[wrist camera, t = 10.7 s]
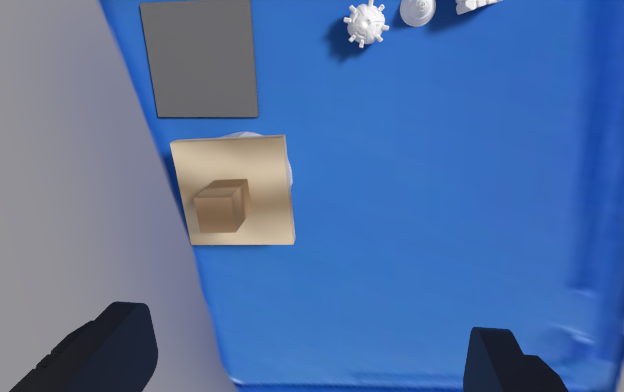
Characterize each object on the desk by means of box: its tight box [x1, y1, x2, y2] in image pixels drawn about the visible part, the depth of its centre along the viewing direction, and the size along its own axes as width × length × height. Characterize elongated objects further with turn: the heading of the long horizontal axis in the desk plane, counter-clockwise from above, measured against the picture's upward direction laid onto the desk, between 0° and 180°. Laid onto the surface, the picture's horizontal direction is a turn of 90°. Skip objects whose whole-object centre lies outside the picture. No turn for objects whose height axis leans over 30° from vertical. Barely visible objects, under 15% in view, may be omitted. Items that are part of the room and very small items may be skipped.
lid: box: [170, 135, 295, 245], centre depth 32 cm, size 10×10×6 cm
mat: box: [139, 0, 259, 117], centre depth 35 cm, size 10×10×1 cm
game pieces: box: [344, 0, 502, 48], centre depth 30 cm, size 12×3×3 cm, turn 107°
